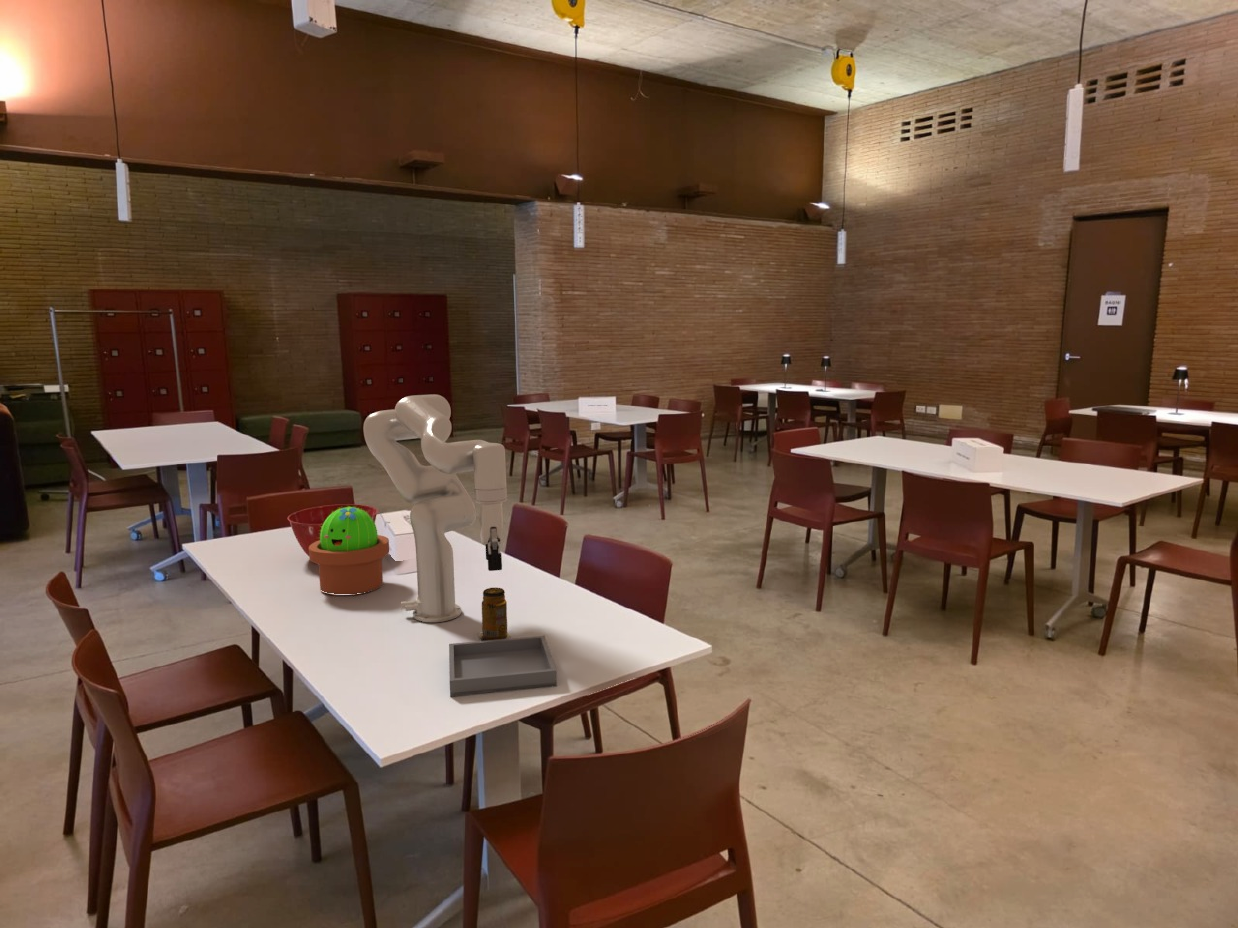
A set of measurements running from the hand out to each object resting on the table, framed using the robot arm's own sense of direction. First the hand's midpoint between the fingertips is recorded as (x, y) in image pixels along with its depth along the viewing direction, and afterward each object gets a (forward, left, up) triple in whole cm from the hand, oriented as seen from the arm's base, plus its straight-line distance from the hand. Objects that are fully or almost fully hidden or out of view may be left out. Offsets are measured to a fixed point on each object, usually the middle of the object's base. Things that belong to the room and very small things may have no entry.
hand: (493, 564), depth 186 cm
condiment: (0, 0, -19) cm, 19 cm away
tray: (0, -20, -19) cm, 27 cm away
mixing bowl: (-48, +85, -19) cm, 100 cm away
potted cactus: (-39, +50, -19) cm, 67 cm away
